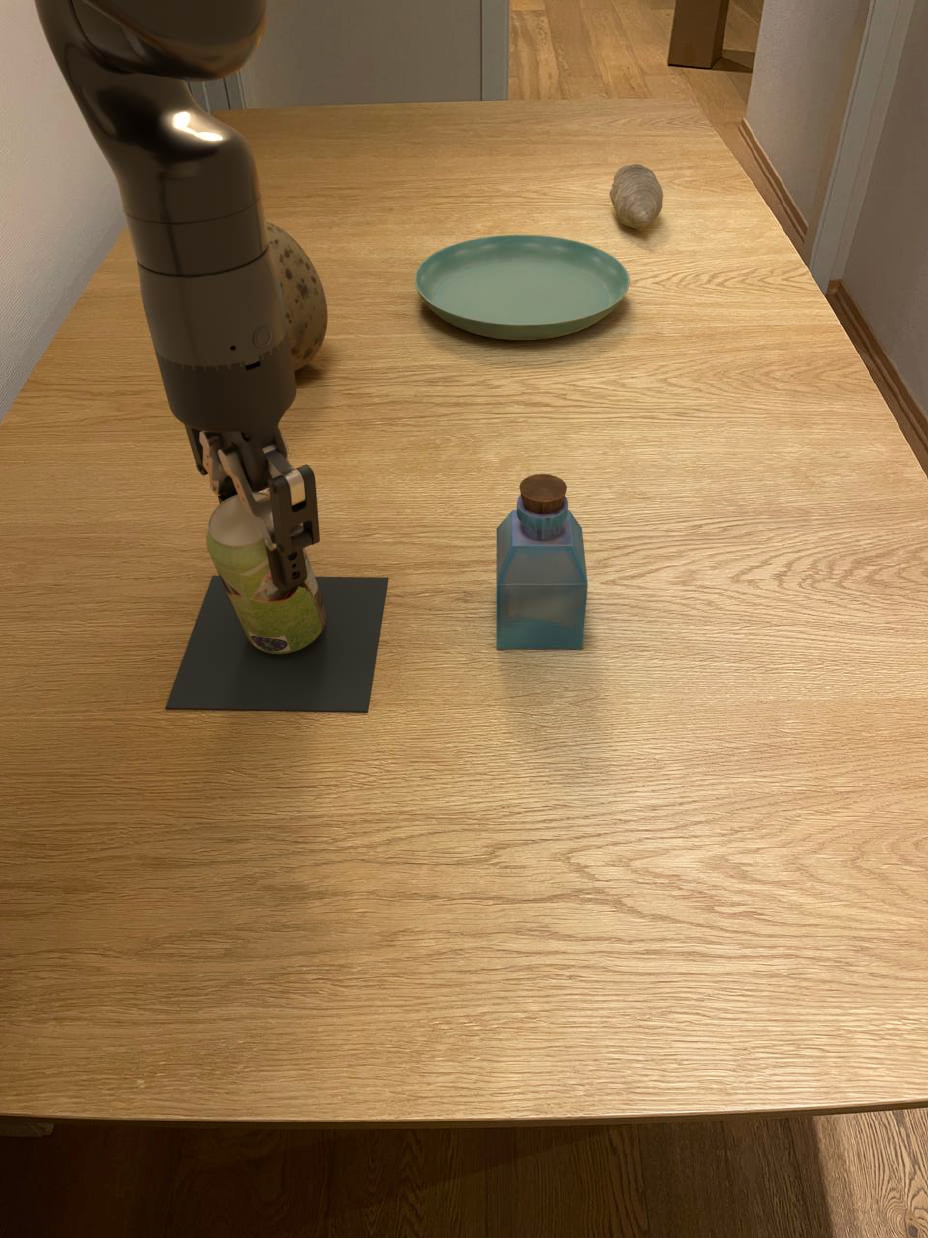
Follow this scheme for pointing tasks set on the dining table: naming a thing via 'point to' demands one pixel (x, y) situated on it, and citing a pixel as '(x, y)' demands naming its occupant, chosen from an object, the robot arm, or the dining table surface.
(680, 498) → the dining table surface
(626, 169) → the seashell
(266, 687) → the mat
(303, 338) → the decorative egg
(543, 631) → the perfume bottle
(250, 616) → the beverage can
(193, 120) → the robot arm
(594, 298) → the saucer
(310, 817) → the dining table surface
